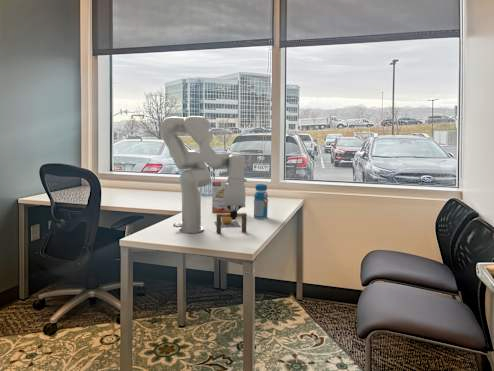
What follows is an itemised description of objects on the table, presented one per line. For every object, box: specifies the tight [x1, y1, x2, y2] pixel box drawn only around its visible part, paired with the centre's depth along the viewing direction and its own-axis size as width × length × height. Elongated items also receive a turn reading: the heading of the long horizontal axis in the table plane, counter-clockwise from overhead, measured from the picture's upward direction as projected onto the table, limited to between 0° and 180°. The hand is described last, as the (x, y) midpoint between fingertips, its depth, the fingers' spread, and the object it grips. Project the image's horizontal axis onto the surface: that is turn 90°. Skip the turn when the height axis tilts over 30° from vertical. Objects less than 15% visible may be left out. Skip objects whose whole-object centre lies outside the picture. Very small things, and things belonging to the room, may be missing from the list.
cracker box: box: [211, 178, 235, 214], centre depth 245 cm, size 14×6×21 cm, turn 80°
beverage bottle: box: [253, 183, 269, 220], centre depth 231 cm, size 8×8×20 cm
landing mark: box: [214, 220, 242, 229], centre depth 215 cm, size 13×13×1 cm
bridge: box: [215, 212, 248, 234], centre depth 197 cm, size 15×3×10 cm, turn 100°
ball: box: [221, 217, 233, 224], centre depth 216 cm, size 6×6×6 cm
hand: (233, 219), depth 185 cm, fingers closed
